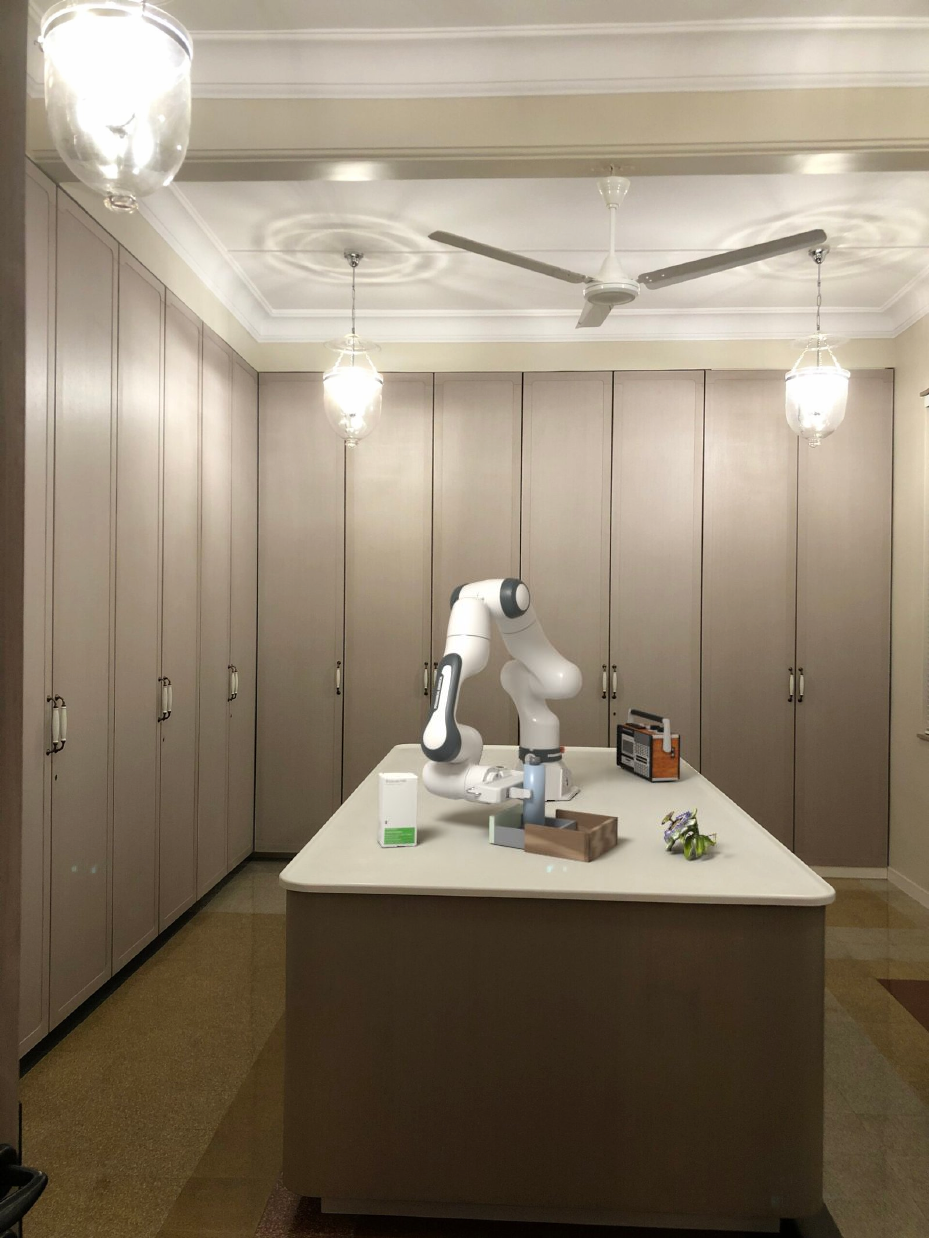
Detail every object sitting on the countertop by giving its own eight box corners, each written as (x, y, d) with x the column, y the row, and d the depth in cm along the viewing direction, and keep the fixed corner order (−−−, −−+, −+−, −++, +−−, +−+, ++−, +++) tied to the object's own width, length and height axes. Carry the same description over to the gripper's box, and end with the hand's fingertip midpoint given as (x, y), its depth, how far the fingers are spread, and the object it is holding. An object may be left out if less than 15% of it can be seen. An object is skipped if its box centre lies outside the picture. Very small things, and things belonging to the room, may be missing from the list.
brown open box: (556, 834, 203) (557, 808, 203) (617, 843, 195) (617, 817, 195) (524, 851, 188) (524, 824, 188) (588, 862, 180) (588, 833, 180)
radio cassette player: (614, 767, 292) (615, 708, 292) (643, 766, 294) (643, 708, 294) (651, 784, 263) (652, 719, 263) (682, 783, 265) (683, 718, 265)
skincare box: (381, 848, 189) (381, 778, 189) (376, 840, 196) (376, 772, 196) (418, 846, 192) (419, 776, 191) (412, 838, 198) (413, 771, 198)
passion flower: (669, 875, 189) (656, 824, 196) (718, 867, 189) (703, 816, 196) (672, 859, 180) (658, 805, 187) (723, 850, 180) (708, 797, 187)
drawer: (518, 829, 206) (518, 803, 206) (576, 838, 199) (576, 811, 199) (489, 843, 194) (489, 816, 194) (549, 853, 186) (550, 824, 186)
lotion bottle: (528, 822, 200) (529, 755, 199) (548, 825, 197) (549, 757, 197) (519, 826, 195) (520, 758, 195) (538, 829, 193) (540, 760, 193)
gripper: (462, 778, 194) (517, 785, 187) (504, 764, 211) (556, 770, 204) (462, 806, 194) (517, 814, 187) (504, 790, 211) (555, 797, 204)
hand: (537, 791), depth 196 cm, fingers closed on lotion bottle, 5 cm apart
